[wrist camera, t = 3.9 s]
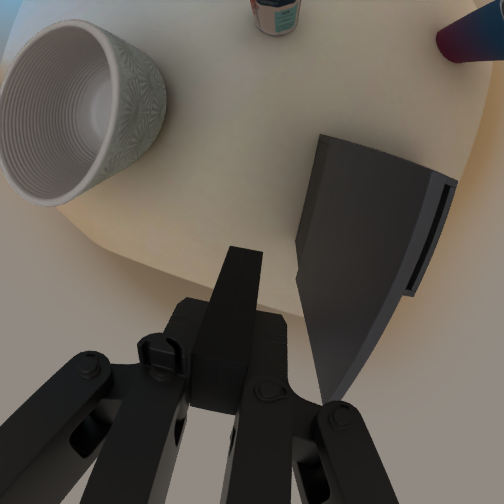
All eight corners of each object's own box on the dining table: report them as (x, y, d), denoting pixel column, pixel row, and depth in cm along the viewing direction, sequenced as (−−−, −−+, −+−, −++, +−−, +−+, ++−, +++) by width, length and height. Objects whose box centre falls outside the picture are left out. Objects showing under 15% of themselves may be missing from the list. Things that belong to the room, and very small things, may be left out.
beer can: (268, -2, 22) (261, -53, 11) (304, 15, 23) (316, -33, 12) (247, 26, 24) (230, -19, 13) (284, 43, 25) (286, 3, 14)
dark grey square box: (420, 165, 29) (458, 181, 21) (389, 261, 35) (413, 297, 27) (319, 133, 29) (334, 137, 21) (295, 241, 35) (298, 277, 27)
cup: (465, 78, 23) (542, 75, 9) (426, 51, 22) (499, 28, 9) (472, 42, 20) (542, 28, 6) (433, 15, 19) (498, -17, 6)
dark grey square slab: (447, 176, 8) (432, 169, 8) (335, 408, 14) (322, 409, 14) (339, 138, 21) (330, 136, 21) (303, 280, 27) (295, 279, 27)
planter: (215, 89, 28) (164, 66, 14) (136, 196, 35) (65, 244, 21) (120, 29, 24) (44, 1, 11) (60, 130, 31) (-20, 149, 17)
